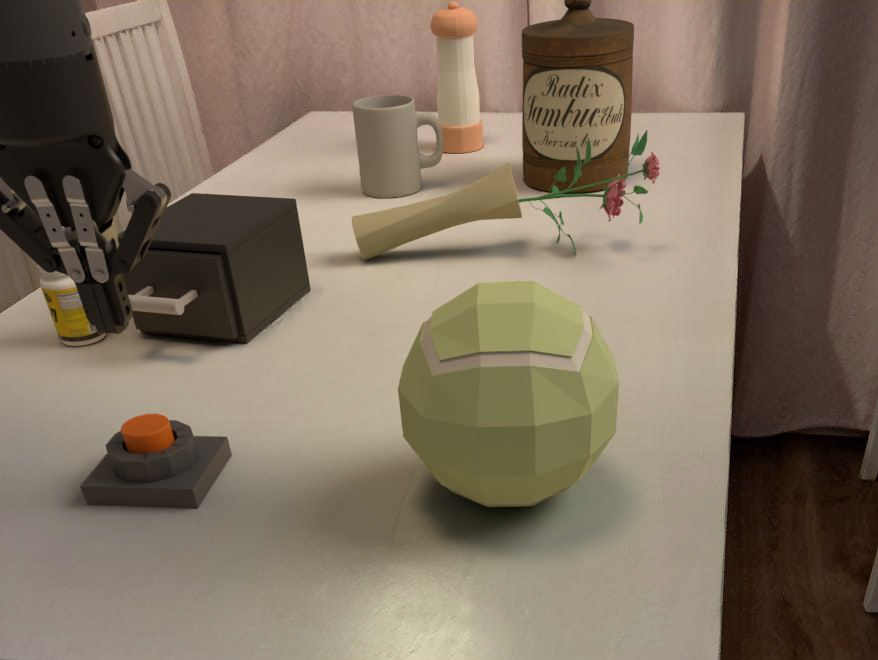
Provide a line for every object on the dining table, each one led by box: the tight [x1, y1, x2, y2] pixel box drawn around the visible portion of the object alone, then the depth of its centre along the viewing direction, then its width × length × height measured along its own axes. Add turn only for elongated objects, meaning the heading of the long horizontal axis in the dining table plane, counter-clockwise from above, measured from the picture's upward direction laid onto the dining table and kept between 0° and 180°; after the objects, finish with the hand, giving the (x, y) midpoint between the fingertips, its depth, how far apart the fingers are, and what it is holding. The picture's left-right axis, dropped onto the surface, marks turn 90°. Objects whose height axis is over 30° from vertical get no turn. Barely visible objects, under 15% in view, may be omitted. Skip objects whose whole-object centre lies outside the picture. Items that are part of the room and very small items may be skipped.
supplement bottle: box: [35, 262, 107, 347], centre depth 93 cm, size 5×5×8 cm
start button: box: [120, 413, 174, 454], centre depth 71 cm, size 4×4×2 cm
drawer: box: [123, 248, 240, 339], centre depth 93 cm, size 18×11×8 cm, turn 162°
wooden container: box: [521, 0, 635, 194], centre depth 123 cm, size 15×15×22 cm
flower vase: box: [351, 129, 660, 261], centre depth 107 cm, size 12×12×35 cm
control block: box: [79, 419, 233, 509], centre depth 72 cm, size 9×8×4 cm
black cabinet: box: [118, 192, 312, 344], centre depth 96 cm, size 15×13×10 cm
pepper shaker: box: [429, 0, 484, 154], centre depth 140 cm, size 7×7×19 cm
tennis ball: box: [397, 280, 620, 508], centre depth 65 cm, size 15×15×15 cm
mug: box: [351, 94, 444, 199], centre depth 127 cm, size 12×8×11 cm
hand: (114, 329), depth 66 cm, fingers closed
